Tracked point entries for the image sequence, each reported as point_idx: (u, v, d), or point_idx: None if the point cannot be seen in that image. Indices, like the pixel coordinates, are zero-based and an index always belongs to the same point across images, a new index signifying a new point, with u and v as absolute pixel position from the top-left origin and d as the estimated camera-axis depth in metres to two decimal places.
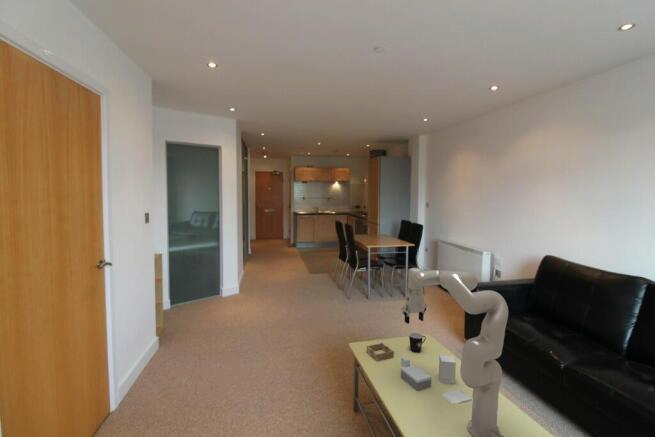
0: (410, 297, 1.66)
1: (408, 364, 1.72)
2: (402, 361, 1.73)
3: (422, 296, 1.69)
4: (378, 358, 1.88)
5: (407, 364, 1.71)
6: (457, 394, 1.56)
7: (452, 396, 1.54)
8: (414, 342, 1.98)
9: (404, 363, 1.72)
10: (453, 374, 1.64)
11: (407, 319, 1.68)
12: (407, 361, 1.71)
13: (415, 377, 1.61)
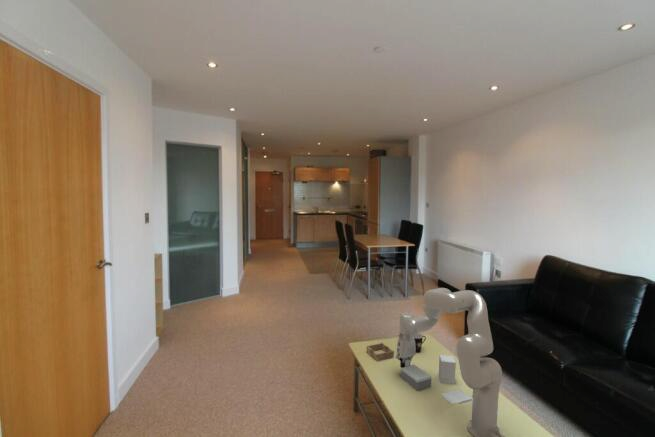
0: (401, 342, 1.69)
1: (408, 364, 1.72)
2: None
3: (413, 341, 1.71)
4: (378, 358, 1.88)
5: (407, 364, 1.71)
6: (457, 394, 1.56)
7: (453, 396, 1.54)
8: None
9: None
10: (453, 374, 1.64)
11: None
12: (407, 361, 1.71)
13: (415, 377, 1.61)
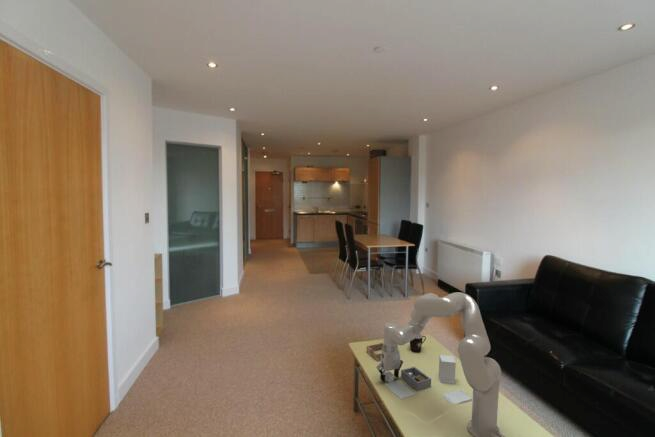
0: (385, 354, 1.62)
1: (392, 380, 1.65)
2: (386, 376, 1.67)
3: (397, 353, 1.65)
4: (378, 358, 1.88)
5: (391, 380, 1.65)
6: (457, 394, 1.56)
7: (453, 396, 1.54)
8: (414, 342, 1.98)
9: (388, 379, 1.65)
10: (453, 374, 1.64)
11: None
12: (391, 377, 1.65)
13: (398, 394, 1.54)
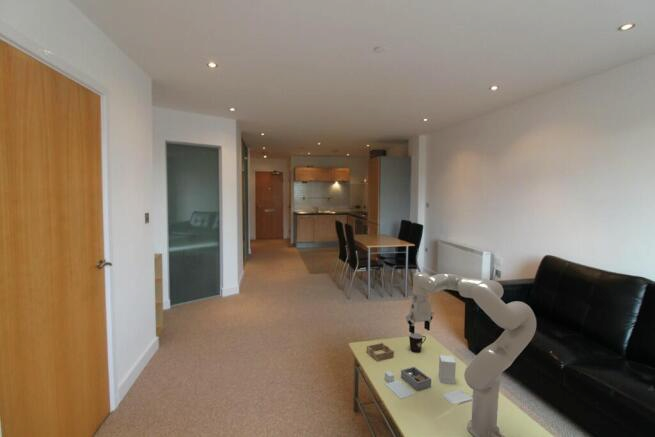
0: (415, 304, 1.51)
1: (392, 380, 1.65)
2: (386, 376, 1.67)
3: (428, 303, 1.53)
4: (378, 358, 1.88)
5: (391, 380, 1.65)
6: (458, 394, 1.56)
7: (453, 396, 1.53)
8: (414, 342, 1.98)
9: (388, 379, 1.65)
10: (453, 374, 1.64)
11: (412, 329, 1.52)
12: (391, 377, 1.65)
13: (398, 394, 1.54)
